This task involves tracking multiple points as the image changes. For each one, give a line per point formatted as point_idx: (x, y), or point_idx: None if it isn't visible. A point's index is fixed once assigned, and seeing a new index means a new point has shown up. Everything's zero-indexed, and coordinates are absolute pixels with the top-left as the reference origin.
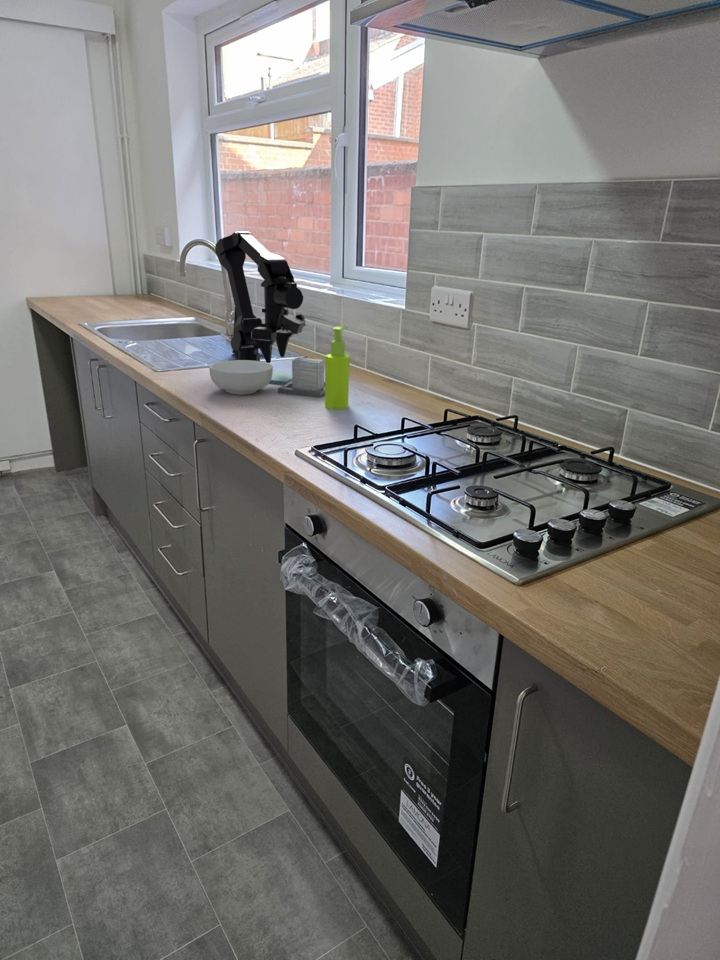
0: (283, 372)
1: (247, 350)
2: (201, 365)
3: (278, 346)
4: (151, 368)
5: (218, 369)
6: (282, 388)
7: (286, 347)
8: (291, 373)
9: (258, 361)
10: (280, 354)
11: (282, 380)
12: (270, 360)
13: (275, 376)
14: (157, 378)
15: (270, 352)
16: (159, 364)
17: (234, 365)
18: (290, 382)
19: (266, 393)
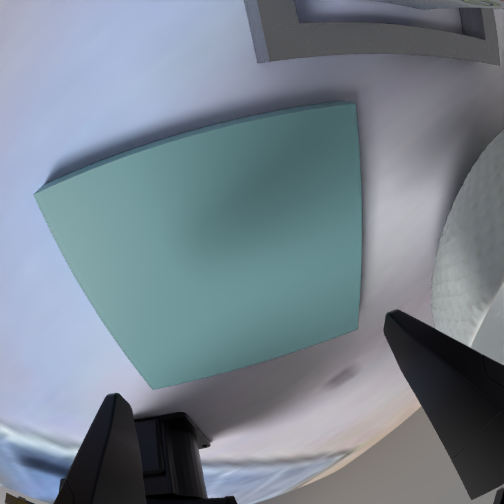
0: (132, 296)
1: (193, 495)
2: (243, 472)
3: (139, 491)
4: (328, 467)
5: (491, 344)
6: (497, 42)
7: (79, 464)
8: (107, 242)
9: (488, 310)
10: (131, 423)
11: (338, 144)
12: (405, 319)
13: (265, 256)
14: (402, 418)
15: (476, 355)
16: (291, 481)
17: None
18: (401, 42)
19: (492, 110)
